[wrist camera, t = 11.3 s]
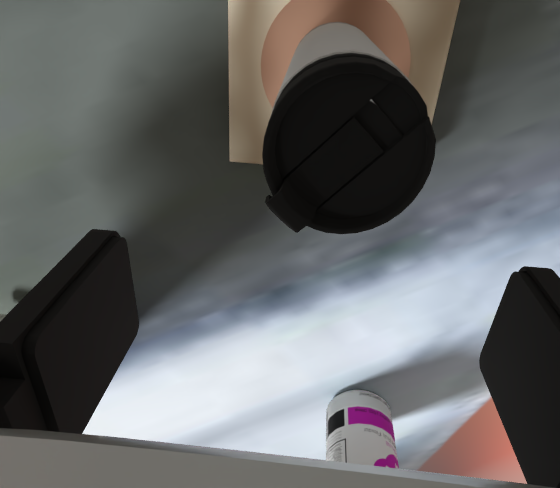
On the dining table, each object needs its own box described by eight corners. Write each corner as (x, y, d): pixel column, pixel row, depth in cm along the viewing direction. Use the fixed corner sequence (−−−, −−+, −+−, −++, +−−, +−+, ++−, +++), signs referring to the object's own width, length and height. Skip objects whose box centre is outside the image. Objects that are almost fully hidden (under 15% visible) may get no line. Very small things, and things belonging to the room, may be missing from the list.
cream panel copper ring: (238, 146, 40) (228, 162, 37) (238, -63, 32) (226, -70, 28) (411, 160, 39) (420, 178, 36) (457, -51, 31) (474, -57, 27)
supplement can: (375, 379, 54) (389, 501, 41) (398, 420, 57) (418, 544, 44) (316, 395, 56) (312, 515, 44) (342, 433, 60) (345, 555, 47)
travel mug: (271, 70, 32) (215, 163, 15) (338, 0, 30) (363, 17, 13) (326, 131, 34) (332, 273, 17) (394, 70, 32) (481, 167, 15)
